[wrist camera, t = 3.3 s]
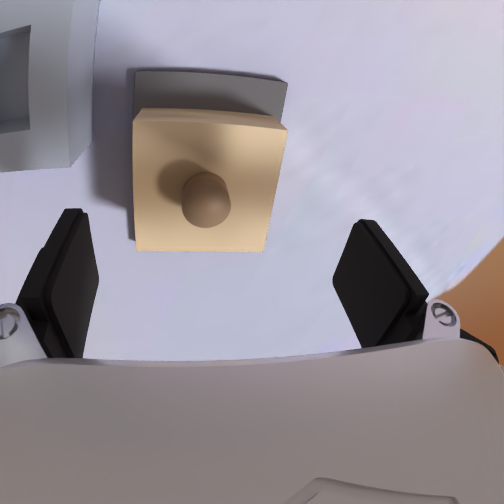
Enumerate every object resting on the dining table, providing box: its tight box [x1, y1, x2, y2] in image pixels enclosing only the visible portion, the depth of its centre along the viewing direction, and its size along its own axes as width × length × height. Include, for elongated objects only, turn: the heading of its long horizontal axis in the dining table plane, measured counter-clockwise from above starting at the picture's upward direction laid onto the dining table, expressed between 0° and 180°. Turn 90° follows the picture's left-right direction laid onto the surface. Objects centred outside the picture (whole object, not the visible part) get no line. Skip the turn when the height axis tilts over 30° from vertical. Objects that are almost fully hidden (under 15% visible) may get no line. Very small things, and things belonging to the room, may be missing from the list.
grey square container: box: [0, 0, 100, 172], centre depth 10 cm, size 9×9×4 cm
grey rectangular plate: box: [132, 71, 288, 240], centre depth 18 cm, size 11×8×1 cm
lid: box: [132, 108, 288, 252], centre depth 16 cm, size 7×7×4 cm
